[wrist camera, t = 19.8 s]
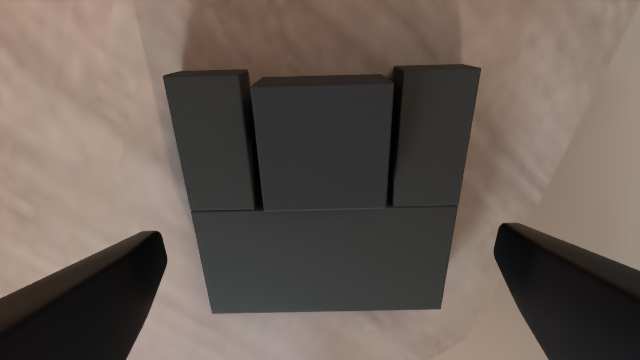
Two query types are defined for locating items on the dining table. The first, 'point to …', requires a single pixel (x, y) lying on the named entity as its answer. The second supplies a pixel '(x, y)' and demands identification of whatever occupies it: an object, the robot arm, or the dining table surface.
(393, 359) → the dining table surface
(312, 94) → the small pad
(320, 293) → the base pad
